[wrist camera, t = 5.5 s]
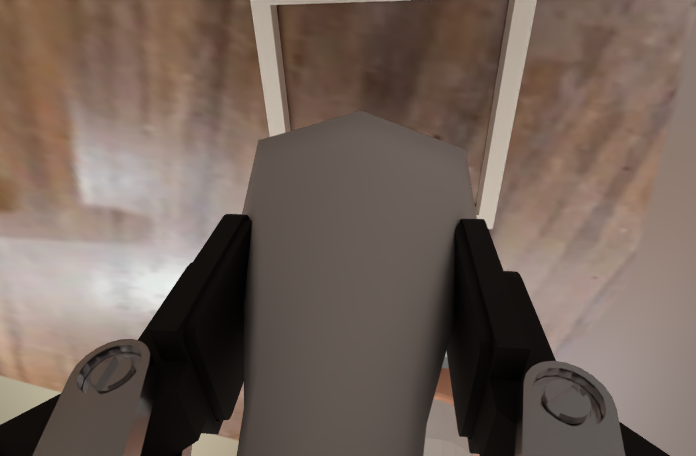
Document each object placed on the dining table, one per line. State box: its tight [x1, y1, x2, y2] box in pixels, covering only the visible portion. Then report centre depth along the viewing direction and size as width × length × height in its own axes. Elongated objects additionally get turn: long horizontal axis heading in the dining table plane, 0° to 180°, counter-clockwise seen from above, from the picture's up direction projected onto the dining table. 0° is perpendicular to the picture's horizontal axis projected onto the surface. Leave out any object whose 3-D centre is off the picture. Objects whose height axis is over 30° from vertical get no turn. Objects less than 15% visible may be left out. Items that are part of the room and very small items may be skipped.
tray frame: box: [250, 0, 537, 229], centre depth 23 cm, size 14×14×1 cm
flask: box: [237, 111, 477, 456], centre depth 8 cm, size 7×7×10 cm
